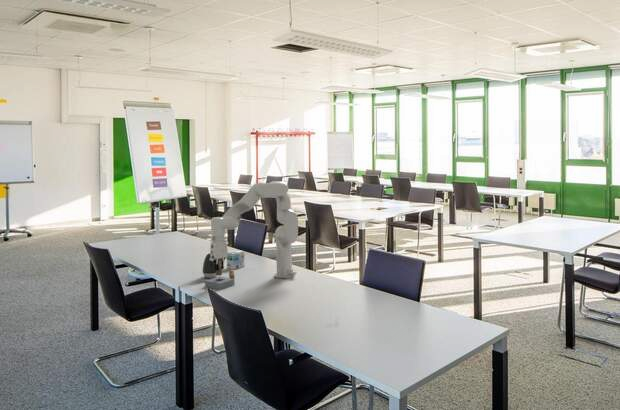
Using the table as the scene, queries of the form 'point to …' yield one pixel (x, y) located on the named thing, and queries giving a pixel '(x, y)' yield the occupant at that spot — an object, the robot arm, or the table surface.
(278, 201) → the robot arm
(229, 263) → the light bulb box
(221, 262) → the long pin
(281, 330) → the table surface
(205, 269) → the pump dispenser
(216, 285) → the block
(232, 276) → the short pin
